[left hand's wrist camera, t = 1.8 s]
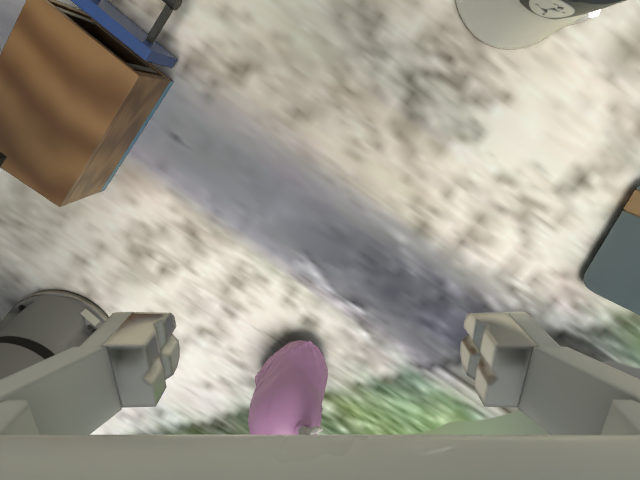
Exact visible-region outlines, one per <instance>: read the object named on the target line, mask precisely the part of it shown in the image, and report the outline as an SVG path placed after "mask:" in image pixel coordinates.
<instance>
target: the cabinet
mask: <svg viewBox="0 0 640 480" xmlns="http://www.w3.org/2000/svg"><path fill="white" fill-rule="evenodd" d="M55 6H57V7H59V8H62V9H64V10H67V11H69V12H72V13H75V14H77V15H80V16H82V17H85V18H88V19H90V20H93V21H95V22H96V23H97V24H98V25H99V26H101V27H102V28H103V29H104V30H106V31H107V32H108V33H109V34H111V35H112V36H113V37H114V38H115V39H117V40H118V41H119V42H120V43H122V44H123V45H124V46H125V47H127V48H128V49H129V50H130V51H131V52H133V53H134V54H135V55H136V56H138V57H139V58H140V59H141V60H143V59H142V58H141V57H140V56H139V55H137V54H136V53H135V52H134V51H132V50H131V49H130V48H129V47H128V46H126V45H125V44H124V43H123V42H121V41H120V40H119V39H118V38H116V37H115V36H114V35H113V34H112V33H110V32H109V31H108V30H107V29H105V28H104V27H103V26H102V25H100V24H99V23H98V22H97V21H96V20H94V19H93V18H92V17H91V16H89V15H88V14H87V13H86V12H84V11H82V10H79V9H77V8H74V7H72V6H69V5H67V4H64V3H62V2H60V1H57V0H26V2H25V4H24V7H23V9H22V11H21V13H20V15H19V17H18V19H17V21H16V23H15V25H14V27H13V30H12V32H11V34H10V36H9V38H8V40H7V42H6V44H5V46H4V48H3V50H2V53H1V55H0V152H1V153H3V154H4V155H5V156H7V158H6V159H5V161H4V162H3V164H2V165H1V168H2V169H4V170H5V171H7V172H8V173H10V174H11V175H13V176H14V177H16V178H17V179H19V180H20V181H22V182H23V183H25V184H26V185H28V186H29V187H30V188H32V189H33V190H35V191H36V192H38V193H39V194H41V195H42V196H44V197H45V198H47V199H48V200H50V201H51V202H53V203H54V204H56V205H57V206H59V207H61V206H64V205H66V204H69V203H72V202H74V201H77V200H79V199H82V198H85V197H87V196H90V195H93V194H95V193H98V192H101V191H104V190H105V189H106V187H107V185H108V184H109V182H110V181H111V179H112V178H113V176H114V174H115V173H116V171H117V170H118V168H119V167H120V165H121V163H122V162H123V160H124V159H125V157H126V156H127V154H128V153H129V151H130V149H131V148H132V146H133V145H134V143H135V142H136V140H137V138H138V137H139V135H140V134H141V132H142V131H143V129H144V128H145V126H146V124H147V123H148V121H149V120H150V118H151V117H152V115H153V113H154V112H155V110H156V109H157V107H158V106H159V104H160V102H161V101H162V99H163V98H164V96H165V95H166V93H167V92H168V90H169V88H170V87H171V85H172V84H173V81H171V80H170V79H169V78H168V77H167V76H165V75H164V74H163V73H162V72H160V71H159V70H158V69H157V68H155V67H154V66H153V65H152V64H151V63H149V62H148V61H145V60H143V61H144V62H145V63H146V64H147V65H149V66H150V67H151V68H152V69H154V70H155V71H156V72H157V73H158V75H154V74H149V73H144V72H140V71H135V70H134V69H133V68H132V67H130V66H129V65H128V64H127V63H125V62H124V61H123V60H122V59H120V58H119V57H118V56H117V55H115V54H114V53H113V52H112V51H110V50H109V49H108V48H107V47H105V46H104V45H103V44H102V43H100V42H99V41H98V40H97V39H95V38H94V37H93V36H92V35H90V34H89V33H88V32H87V31H85V30H84V29H83V28H82V27H80V26H79V25H78V24H77V23H75V22H74V21H73V20H72V19H70V18H69V17H68V16H67V15H65V14H64V13H63V12H62V11H60V10H59V9H58V8H57V7H55Z"/></svg>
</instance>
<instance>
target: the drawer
mask: <svg viewBox="0 0 640 480" xmlns="http://www.w3.org/2000/svg"><path fill="white" fill-rule="evenodd" d="M71 1H72V2H73V3H75V4H76V5H77V6H78V7H80V8H81V9H82V10H83V11H84V12H86V13H87V14H88V15H89V16H91V17H92V18H93V19H94V20H96V21H97V22H98V23H99V24H100V25H102V26H103V27H104V28H105V29H107V30H108V31H109V32H110V33H112V34H113V35H114V36H115V37H116V38H118V39H119V40H120V41H121V42H123V43H124V44H125V45H126V46H128V47H129V48H130V49H131V50H132V51H134V52H135V53H136V54H137V55H139V56H140V57H141V58H142V59H143V60H145V61H148V62H152V63H155V64H159V65H163V66H167V67H170V68H172V67H173V65H174V64H175V62H176V61H177V58H175V57H174V56H173V55H172V54H171V53H169V52H168V51H167V50H166V49H165V48H163V47H162V46H161V45H160V44H159V43H157V42H156V41H155V39H156V38H157V36H158V34H159V33H160V31H161V30H162V28H163V26H164V25H165V23H166V21H167V20H168V18H169V16H170V15H171V13H172V11H173V10H177V9H178V8H179V7H180V5H181V3H182V0H162V1H164V2H165V3H166V5H165V7H164V9H163V11H162V12H161V14H160V16H159V17H158V19H157V21H156V22H155V24H154V26H153V27H152V29H151V31H150V32H149V34H147V33H145V32H144V31H143V30H142V29H141V28H139V27H138V26H137V25H136V24H135V23H133V22H132V21H131V20H130V19H128V18H127V17H126V16H125V15H124V14H122V13H121V12H120V11H119V10H118V9H116V8H115V7H114V6H113V5H112V4H110V3H109V2H108V1H107V0H71ZM55 7H57V6H55ZM57 8H58V9H59V10H60V11H62V12H63V13H64V14H65V15H67V16H68V17H69V18H70V19H72V20H73V21H74V22H75V23H77V24H78V25H79V26H80V27H82V28H83V29H84V30H85V31H87V32H88V33H89V34H90V35H92V36H93V37H94V38H95V39H97V40H98V41H99V42H100V43H102V44H103V45H104V46H105V47H107V48H108V49H109V50H110V51H112V52H113V53H114V54H115V55H117V56H118V57H119V58H120V59H122V60H123V61H124V62H125V63H127V64H128V65H129V66H130V67H132V68H133V69H134V70H135V71H140V72H144V73H149V74H154V75H158V73H157V72H156V71H155V70H154V69H152V68H151V67H150V66H149V65H147V64H146V63H145V62H144V61H143V60H141V59H140V58H139V57H138V56H136V55H135V54H134V53H133V52H131V51H130V50H129V49H128V48H127V47H125V46H124V45H123V44H122V43H120V42H119V41H118V40H117V39H115V38H114V37H113V36H112V35H111V34H109V33H108V32H107V31H106V30H104V29H103V28H102V27H101V26H99V25H98V24H97V23H96V22H95V21H93V20H90V19H88V18H85V17H82V16H80V15H77V14H75V13H72V12H69V11H67V10H64V9H62V8H59V7H57Z"/></svg>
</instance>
